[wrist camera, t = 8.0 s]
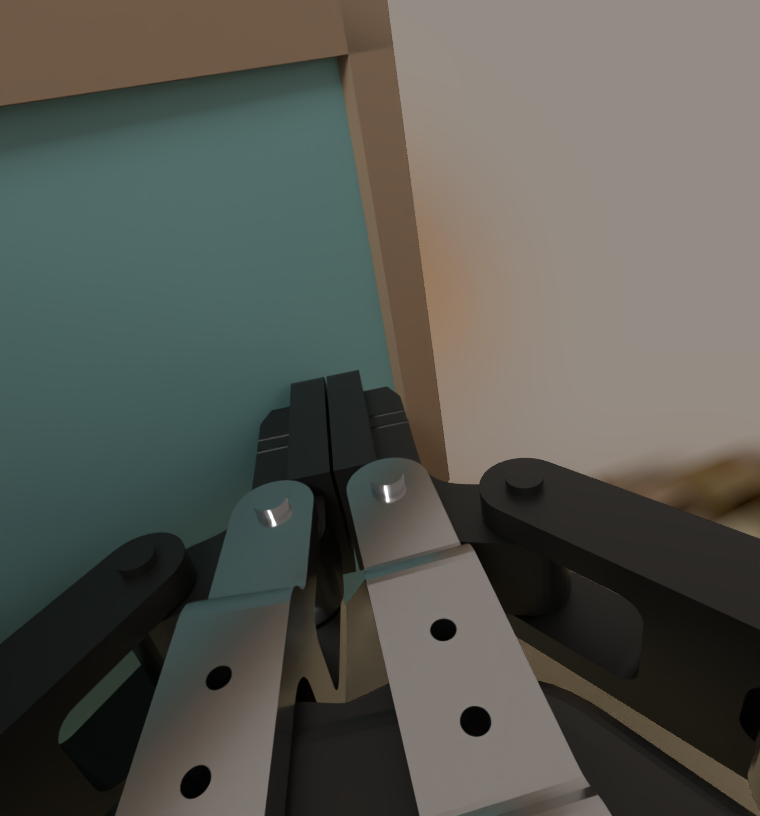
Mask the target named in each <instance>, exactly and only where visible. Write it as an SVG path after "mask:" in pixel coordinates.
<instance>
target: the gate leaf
mask: <svg viewBox="0 0 760 816" xmlns="http://www.w3.org/2000/svg"><path fill="white" fill-rule="evenodd" d="M413 203H414V202H413V195H412V187H411V180H410V172H409V164H408V157H407V149H406V142H405V133H404V126H403V118H402V110H401V103H400V95H399V87H398V79H397V72H396V65H395V56H394V49H393V42H392V34H391V26H390V19H389V10H388V2H387V0H0V644H1V643H2V642H3V641H4V640H6V639H7V638H8V637H9V636H10V635H12V634H13V633H14V632H15V631H17V630H18V629H19V628H20V627H21V626H23V625H24V624H25V623H26V622H28V621H29V620H30V619H31V618H32V617H34V616H35V615H36V614H37V613H39V612H40V611H41V610H42V609H43V608H45V607H46V606H47V605H48V604H50V603H51V602H52V601H53V600H54V599H56V598H57V597H58V596H59V595H61V594H62V593H63V592H64V591H65V590H67V589H68V588H69V587H70V586H72V585H73V584H74V583H75V582H76V581H78V580H79V579H80V578H81V577H83V576H84V575H85V574H86V573H87V572H89V571H90V570H91V569H92V568H94V567H95V566H96V565H97V564H98V563H100V562H101V561H102V560H103V559H105V558H106V557H107V556H108V555H109V554H111V553H112V552H113V551H114V550H116V549H117V548H119V547H120V546H122V545H123V544H125V543H127V542H129V541H131V540H133V539H135V538H137V537H140V536H143V535H147V534H151V533H159V532H164V533H171V534H174V535H176V536H178V537H179V538H180V539H181V540H182V542H183V544H184V546H185V548H186V549H187V548H189V547H191V546H193V545H196V544H198V543H200V542H202V541H205V540H207V539H209V538H212V537H214V536H216V535H218V534H220V533H221V532H223V531H225V530H226V529H227V528H228V525H229V521H230V518H231V514H232V511H233V509H234V507H235V506H236V504H237V503H238V502H239V500H240V499H241V498H243V497H244V496H245V495H246V494H247V493H249V492H250V491H252V485H253V477H254V470H255V462H256V454H257V447H258V442H259V431H260V425H261V423H262V422H263V421H264V419H265V418H266V417H267V415H268V414H269V413H270V412H271V411H272V410H275V409H280V408H285V407H290V392H291V384H292V383H297V382H301V381H306V380H311V379H316V378H321V377H324V378H325V381H326V384H327V379H326V377H327V376H330V375H335V374H340V373H345V372H350V371H354V370H359V373H360V377H361V382H362V387H363V391H367V390H372V389H376V388H381V387H386V386H387V387H389V388H390V389H391V390H393V391H394V392H396V393H397V394H398V395H400V397H401V400H402V404H403V407H404V411H405V413H406V417H407V420H408V423H409V426H410V429H411V433H412V436H413V439H414V442H415V446H416V449H417V452H418V455H419V458H420V462H421V464H422V466H423V467H424V468H425V469H426V470H427V472H428V473H429V474H430V475H431V476H433V477H435V478H437V479H439V480H441V481H445V482H448V481H449V472H448V464H447V457H446V449H445V441H444V434H443V426H442V418H441V410H440V402H439V395H438V387H437V379H436V372H435V364H434V357H433V349H432V342H431V334H430V326H429V318H428V310H427V303H426V295H425V287H424V279H423V272H422V264H421V256H420V249H419V242H418V233H417V226H416V218H415V210H414V204H413ZM354 554H355V551H354ZM355 564H356V572H353V573H348V574H343V581H344V596H343V598H344V602H345V605H346V604H347V603H348V601H349V600H350V599H351V597H352V596H353V595H354V593H355V592H356V591H357V589H358V588H359V587H360V585H361V584H362V583H363V581H364V580H365V579H366V578H365V573H364V571H365V570H361V571H360V570H359V566H358V562H357V558H356V554H355ZM140 665H141V664H140V662H139V661H138V659H137V657H136V656H135V654H134V653H133V651H131V652H130V653H129V654H127V655H126V656H125V657H124V658H123V659H122V660H121V661H120V662H119V663H118V664H117V665H116V666H115V667H114V668H113V669H112V670H111V671H110V672H109V673H108V674H107V675H106V676H105V677H104V678H103V679H102V680H101V681H100V682H99V683H98V684H97V685H96V686H95V687H94V688H93V689H92V690H91V691H90V692H89V693H88V694H87V695H86V696H85V697H84V698H83V699H82V700H81V701H80V702H79V703H78V704H77V705H76V706H75V707H74V708H73V709H72V710H71V711H70V713H69V714H68V715H67V717H66V718H65V720H64V722H63V724H62V726H61V728H60V732H59V744H61V743H63V742H64V741H66V740H67V739H69V738H70V737H71V736H72V735H73V734H74V733H75V732H76V731H77V730H78V729H79V728H80V727H81V726H82V725H83V724H84V723H85V722H86V721H87V720H88V719H89V718H90V717H91V716H92V714H93V713H94V712H95V711H96V710H97V709H98V708H99V707H100V706H101V705H102V704H103V703H104V702H105V701H106V700H107V699H108V698H109V697H110V696H111V695H112V694H113V693H114V692H115V691H116V690H117V689H118V688H119V687H120V686H121V685H122V684H123V683H124V682H125V681H126V680H127V679H128V678H129V677H130V676H131V675H132V673H133V672H134V671H135V670H136V669H137V668H138V667H139V666H140Z"/></svg>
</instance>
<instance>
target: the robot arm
mask: <svg viewBox="0 0 760 816" xmlns="http://www.w3.org/2000/svg"><path fill="white" fill-rule="evenodd" d="M326 379H327V384H326V381H325V378H324V377H321V378H316V379H311V380H306V381H301V382H297V383H292V384H291V392H290V407H285V408H280V409H275V410H272V411H271V412H270V413H269V414H268V415H267V417H266V418H265V419H264V421H263V422H262V423H261V425H260V431H259V442H258V447H257V454H256V462H255V470H254V477H253V485H252V491H250V492H249V493H247V494H246V495H245V496H244V497H243V498H241V499H240V500H239V502H238V503H237V504H236V506H235V507H234V509H233V511H232V514H231V518H230V521H229V525H228V528H227V529H226V530H225V531H223V532H221V533H220V534H218V535H216V536H214V537H212V538H209V539H207V540H205V541H202V542H200V543H198V544H196V545H193V546H191V547H189V548H187V549H186V548H185V546H184V544H183V542H182V540H181V539H180V538H179V537H178V536H176V535H174V534H171V533H164V532H159V533H151V534H147V535H143V536H140V537H137V538H135V539H133V540H131V541H129V542H127V543H125V544H123V545H122V546H120V547H119V548H117V549H116V550H114V551H113V552H112V553H111V554H109V555H108V556H107V557H106V558H105V559H103V560H102V561H101V562H100V563H98V564H97V565H96V566H95V567H94V568H92V569H91V570H90V571H89V572H87V573H86V574H85V575H84V576H83V577H81V578H80V579H79V580H78V581H76V582H75V583H74V584H73V585H72V586H70V587H69V588H68V589H67V590H65V591H64V592H63V593H62V594H61V595H59V596H58V597H57V598H56V599H54V600H53V601H52V602H51V603H50V604H48V605H47V606H46V607H45V608H43V609H42V610H41V611H40V612H39V613H37V614H36V615H35V616H34V617H32V618H31V619H30V620H29V621H28V622H26V623H25V624H24V625H23V626H21V627H20V628H19V629H18V630H17V631H15V632H14V633H13V634H12V635H10V636H9V637H8V638H7V639H6V640H4V641H3V642H2V643H1V644H0V816H756V815H755V814H753V813H752V812H750V811H749V810H747V809H746V808H744V807H743V806H742V805H740V804H739V803H737V802H736V801H734V800H733V799H731V798H730V797H728V796H727V795H726V794H724V793H723V792H721V791H720V790H718V789H717V788H715V787H714V786H712V785H711V784H710V783H708V782H707V781H705V780H704V779H702V778H701V777H699V776H698V775H696V774H695V773H694V772H692V771H691V770H689V769H688V768H686V767H685V766H683V765H682V764H680V763H679V762H678V761H676V760H675V759H673V758H672V757H670V756H669V755H667V754H666V753H664V752H663V751H662V750H660V749H659V748H657V747H656V746H654V745H653V744H651V743H650V742H648V741H647V740H646V739H644V738H643V737H641V736H640V735H638V734H637V733H635V732H634V731H632V730H631V729H630V728H628V727H627V726H625V725H624V724H622V723H621V722H619V721H618V720H616V719H615V718H614V717H612V716H611V715H609V714H608V713H606V712H605V711H603V710H602V709H600V708H599V707H597V706H596V705H594V704H592V703H591V702H589V701H587V700H585V699H583V698H581V697H580V696H578V695H576V694H574V693H572V692H570V691H567V690H565V689H562V688H560V687H557V686H555V685H552V684H549V683H545V682H541V681H538V680H537V679H536V677H535V675H534V673H533V671H532V669H531V667H530V665H529V663H528V661H527V658H526V656H525V654H524V652H523V650H522V648H521V646H520V644H519V642H518V640H517V638H516V637H518V638H520V639H521V640H523V641H524V642H526V643H528V644H529V645H531V646H532V647H534V648H536V649H537V650H539V651H541V652H542V653H544V654H545V655H547V656H549V657H550V658H552V659H553V660H555V661H557V662H558V663H560V664H561V665H563V666H565V667H566V668H568V669H570V670H571V671H573V672H574V673H576V674H578V675H579V676H581V677H582V678H584V679H586V680H587V681H589V682H590V683H592V684H594V685H595V686H597V687H599V688H600V689H602V690H603V691H605V692H607V693H608V694H610V695H611V696H613V697H615V698H616V699H618V700H619V701H621V702H623V703H624V704H626V705H627V706H629V707H631V708H632V709H634V710H636V711H637V712H639V713H640V714H642V715H644V716H645V717H647V718H648V719H650V720H652V721H653V722H655V723H656V724H658V725H660V726H661V727H663V728H665V729H666V730H668V731H669V732H671V733H673V734H674V735H676V736H677V737H679V738H681V739H682V740H684V741H685V742H687V743H689V744H690V745H692V746H693V747H695V748H697V749H698V750H700V751H702V752H703V753H705V754H706V755H708V756H710V757H711V758H713V759H714V760H716V761H718V762H719V763H721V764H722V765H724V766H726V767H727V768H729V769H731V770H732V771H734V772H735V773H737V774H739V775H740V776H742V777H743V778H745V779H747V780H748V782H749V787H750V790H751V793H752V796H753V799H754V801H755V803H756V805H757V807H758V809H759V810H760V539H759V538H756V537H754V536H751V535H748V534H745V533H743V532H740V531H737V530H734V529H732V528H729V527H726V526H723V525H721V524H718V523H715V522H712V521H710V520H707V519H704V518H701V517H699V516H696V515H693V514H690V513H688V512H685V511H682V510H679V509H677V508H674V507H671V506H668V505H666V504H663V503H660V502H657V501H655V500H652V499H649V498H646V497H644V496H641V495H638V494H635V493H633V492H630V491H627V490H624V489H622V488H619V487H616V486H613V485H611V484H608V483H605V482H602V481H600V480H597V479H594V478H591V477H589V476H586V475H583V474H580V473H578V472H575V471H572V470H569V469H567V468H564V467H561V466H558V465H556V464H553V463H550V462H547V461H544V460H540V459H534V458H517V459H511V460H506V461H503V462H501V463H498V464H496V465H494V466H492V467H491V468H490V469H488V470H487V471H486V472H485V473H484V475H483V476H482V478H481V480H480V484H479V485H477V484H454V483H448V482H445V481H441V480H439V479H437V478H435V477H433V476H431V475H430V474H429V473H428V472H427V470H426V469H425V468H424V467H423V466H422V464H421V462H420V458H419V455H418V452H417V449H416V446H415V442H414V439H413V436H412V433H411V429H410V426H409V423H408V420H407V417H406V413H405V411H404V407H403V404H402V400H401V397H400V395H398V394H397V393H396V392H394V391H393V390H391V389H390V388H389V387H387V386H386V387H381V388H376V389H372V390H367V391H363V387H362V382H361V377H360V373H359V370H354V371H350V372H345V373H340V374H335V375H330V376H327V377H326ZM354 551H355V554H356V558H357V562H358V566H359V570H360V571H361V570H365V571H364V573H365V578H366V582H367V587H368V591H369V596H370V600H371V604H372V609H373V613H374V618H375V622H376V626H377V631H378V635H379V640H380V644H381V648H382V653H383V657H384V661H385V666H386V670H387V675H388V679H389V683H388V684H386V685H384V686H382V687H380V688H378V689H376V690H374V691H372V692H370V693H368V694H366V695H364V696H361V697H359V698H357V699H355V700H353V701H350V702H346V627H347V611H346V605H345V602H344V598H343V596H344V581H343V574H348V573H353V572H356V564H355V554H354ZM572 571H573V572H572ZM574 572H575V573H574ZM576 573H577V574H576ZM578 574H579V575H578ZM580 575H581V576H580ZM582 576H583V577H582ZM584 577H585V578H584ZM586 578H587V579H586ZM588 579H589V580H588ZM590 580H591V581H590ZM592 581H593V582H592ZM594 582H595V583H594ZM596 583H597V584H596ZM598 584H599V585H598ZM600 585H601V586H600ZM602 586H603V587H602ZM604 587H605V588H604ZM606 588H608V589H610V590H612V591H614V592H616V593H618V594H619V595H618V594H616V593H614V592H612V591H610V590H608V589H606ZM620 595H621V596H620ZM622 596H623V597H622ZM131 651H133V653H134V654H135V656H136V657H137V659H138V661H139V662H140V664H141V665H140V666H139V667H138V668H137V669H136V670H135V671H134V672H133V673H132V675H131V676H130V677H129V678H128V679H127V680H126V681H125V682H124V683H123V684H122V685H121V686H120V687H119V688H118V689H117V690H116V691H115V692H114V693H113V694H112V695H111V696H110V697H109V698H108V699H107V700H106V701H105V702H104V703H103V704H102V705H101V706H100V707H99V708H98V709H97V710H96V711H95V712H94V713H93V714H92V716H91V717H90V718H89V719H88V720H87V721H86V722H85V723H84V724H83V725H82V726H81V727H80V728H79V729H78V730H77V731H76V732H75V733H74V734H73V735H72V736H71V737H70V738H69V739H67V740H66V741H64V742H63V743H61V744H59V732H60V728H61V726H62V724H63V722H64V720H65V718H66V717H67V715H68V714H69V713H70V711H71V710H72V709H73V708H74V707H75V706H76V705H77V704H78V703H79V702H80V701H81V700H82V699H83V698H84V697H85V696H86V695H87V694H88V693H89V692H90V691H91V690H92V689H93V688H94V687H95V686H96V685H97V684H98V683H99V682H100V681H101V680H102V679H103V678H104V677H105V676H106V675H107V674H108V673H109V672H110V671H111V670H112V669H113V668H114V667H115V666H116V665H117V664H118V663H119V662H120V661H121V660H122V659H123V658H124V657H125V656H126V655H127V654H129V653H130V652H131Z"/></svg>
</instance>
